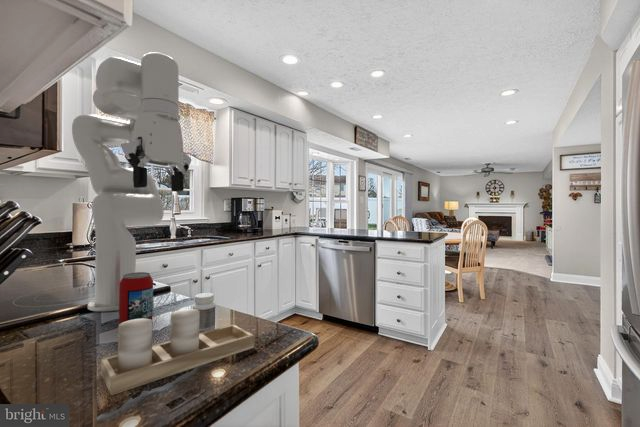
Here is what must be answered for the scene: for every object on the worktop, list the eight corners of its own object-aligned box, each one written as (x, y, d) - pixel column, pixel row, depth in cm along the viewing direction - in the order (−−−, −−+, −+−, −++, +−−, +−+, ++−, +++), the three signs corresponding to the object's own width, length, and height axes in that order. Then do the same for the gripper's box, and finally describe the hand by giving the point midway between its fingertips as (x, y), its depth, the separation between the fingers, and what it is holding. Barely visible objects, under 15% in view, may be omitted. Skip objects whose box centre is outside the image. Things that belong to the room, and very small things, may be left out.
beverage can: (137, 332, 68) (138, 278, 68) (111, 329, 70) (112, 276, 70) (158, 322, 75) (159, 272, 75) (134, 319, 76) (135, 270, 76)
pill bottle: (219, 330, 71) (220, 293, 71) (203, 338, 66) (204, 298, 66) (203, 327, 73) (204, 291, 73) (187, 334, 68) (188, 296, 68)
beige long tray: (100, 374, 51) (101, 322, 51) (233, 335, 68) (234, 296, 68) (111, 395, 45) (112, 337, 45) (253, 347, 62) (254, 305, 62)
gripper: (178, 125, 79) (178, 192, 79) (110, 102, 63) (109, 186, 63) (201, 121, 76) (201, 191, 76) (136, 96, 60) (136, 184, 60)
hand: (160, 189), depth 69 cm, fingers open, 9 cm apart
